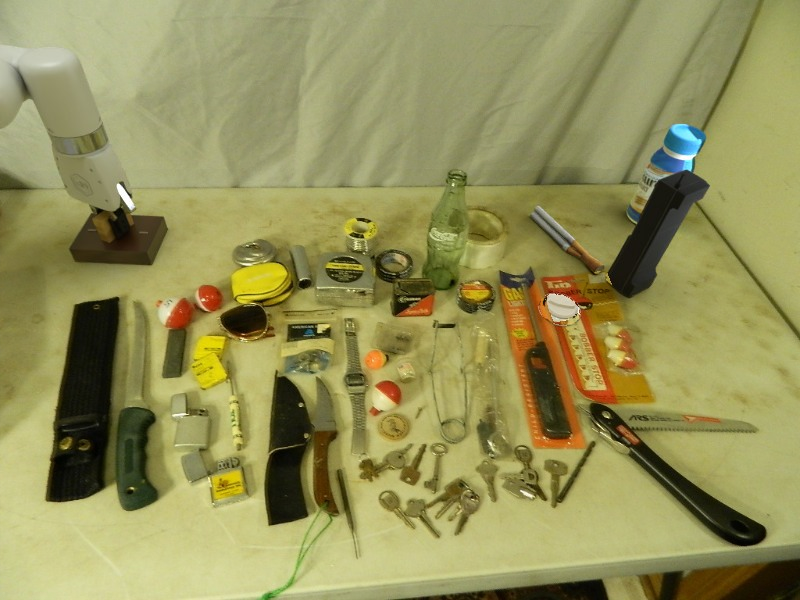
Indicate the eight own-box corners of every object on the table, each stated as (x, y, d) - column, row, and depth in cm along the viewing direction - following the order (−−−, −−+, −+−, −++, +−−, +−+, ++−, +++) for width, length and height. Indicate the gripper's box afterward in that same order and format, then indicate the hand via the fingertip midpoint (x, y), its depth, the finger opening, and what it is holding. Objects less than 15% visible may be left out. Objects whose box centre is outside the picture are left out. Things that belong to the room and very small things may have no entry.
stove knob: (578, 331, 89) (582, 323, 88) (535, 319, 90) (538, 311, 89) (581, 301, 94) (585, 294, 93) (540, 290, 95) (543, 283, 94)
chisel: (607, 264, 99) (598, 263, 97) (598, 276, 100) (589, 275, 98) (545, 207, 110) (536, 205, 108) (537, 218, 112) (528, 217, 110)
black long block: (629, 265, 102) (690, 149, 84) (654, 284, 99) (723, 168, 81) (601, 278, 99) (659, 161, 81) (626, 299, 95) (692, 182, 77)
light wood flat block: (109, 243, 91) (99, 220, 88) (101, 239, 92) (91, 217, 88) (134, 223, 95) (126, 201, 92) (126, 220, 96) (117, 198, 92)
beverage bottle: (670, 231, 110) (719, 145, 96) (631, 229, 110) (674, 142, 95) (657, 206, 116) (701, 122, 102) (619, 204, 116) (658, 119, 101)
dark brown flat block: (74, 261, 92) (67, 248, 90) (96, 225, 99) (90, 212, 97) (151, 265, 93) (146, 251, 90) (168, 228, 100) (163, 215, 97)
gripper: (18, 134, 79) (65, 229, 93) (102, 162, 76) (138, 257, 89) (58, 113, 84) (98, 206, 98) (139, 138, 81) (168, 232, 94)
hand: (117, 230), depth 93 cm, fingers closed on light wood flat block, 2 cm apart
